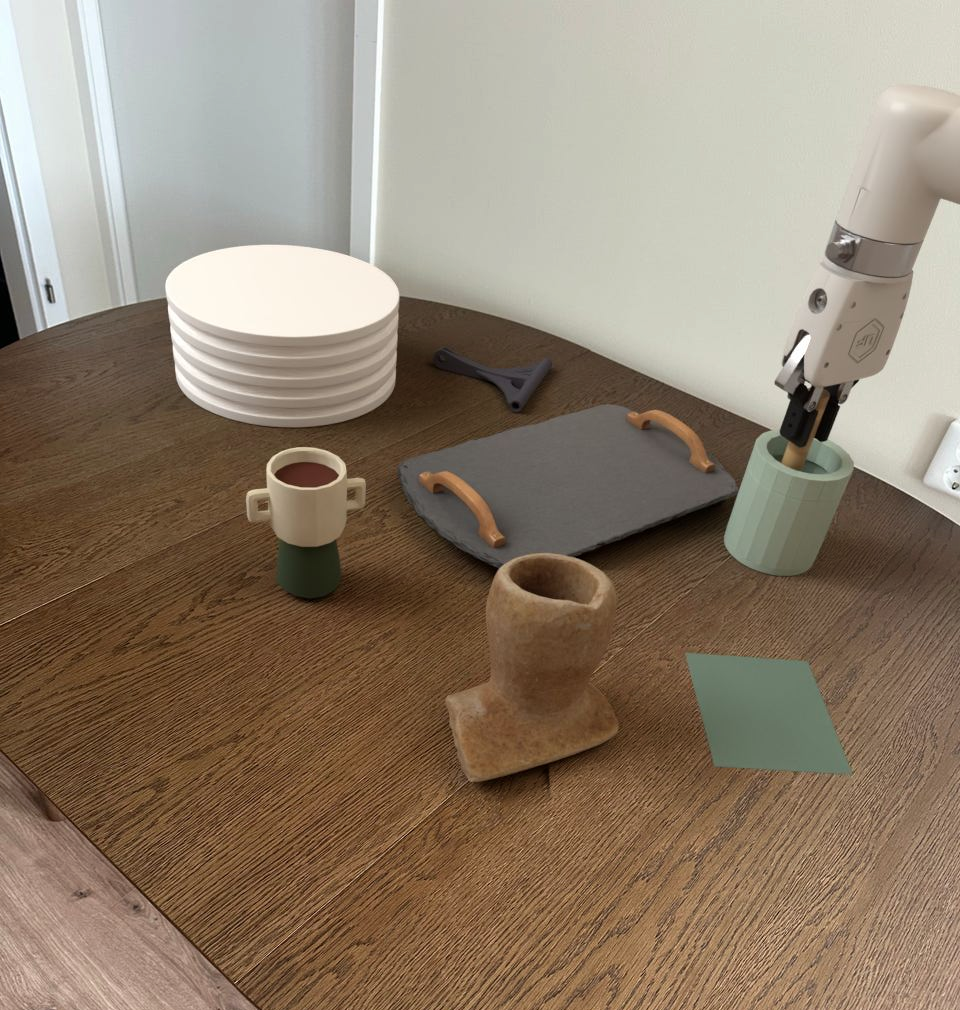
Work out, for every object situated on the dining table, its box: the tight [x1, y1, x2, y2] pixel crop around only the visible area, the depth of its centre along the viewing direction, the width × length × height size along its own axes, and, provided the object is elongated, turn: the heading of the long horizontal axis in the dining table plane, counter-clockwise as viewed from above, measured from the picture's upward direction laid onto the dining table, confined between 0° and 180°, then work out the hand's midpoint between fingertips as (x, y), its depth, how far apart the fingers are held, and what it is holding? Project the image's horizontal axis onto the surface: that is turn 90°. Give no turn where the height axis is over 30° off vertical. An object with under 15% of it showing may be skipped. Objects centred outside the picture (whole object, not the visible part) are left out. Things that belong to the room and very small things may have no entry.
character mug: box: [245, 446, 367, 599], centre depth 87 cm, size 11×7×13 cm, turn 111°
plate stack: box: [164, 244, 400, 428], centre depth 119 cm, size 28×28×12 cm
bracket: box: [432, 346, 553, 413], centre depth 127 cm, size 14×15×3 cm
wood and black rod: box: [781, 386, 830, 471], centre depth 96 cm, size 4×4×16 cm
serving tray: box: [396, 403, 740, 570], centre depth 106 cm, size 39×23×6 cm, turn 126°
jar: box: [723, 429, 855, 577], centre depth 100 cm, size 10×10×12 cm
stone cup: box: [444, 553, 619, 783], centre depth 75 cm, size 15×12×15 cm
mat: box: [684, 652, 854, 776], centre depth 84 cm, size 12×14×1 cm
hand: (802, 436), depth 94 cm, fingers closed on wood and black rod, 2 cm apart
